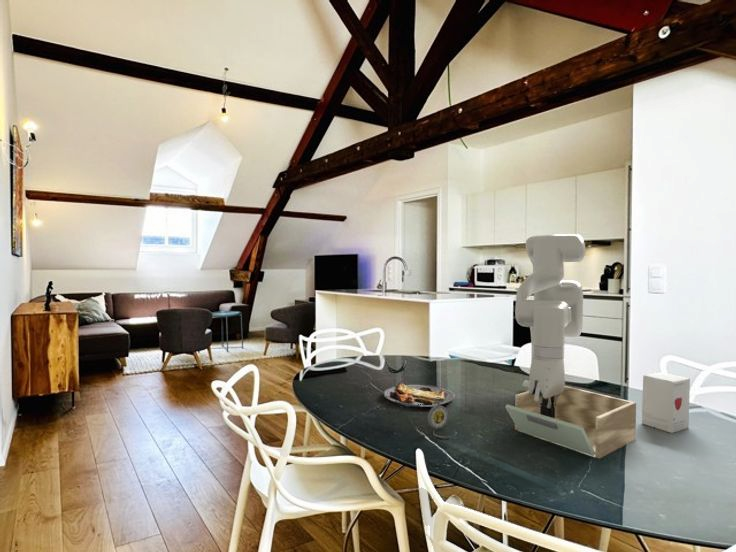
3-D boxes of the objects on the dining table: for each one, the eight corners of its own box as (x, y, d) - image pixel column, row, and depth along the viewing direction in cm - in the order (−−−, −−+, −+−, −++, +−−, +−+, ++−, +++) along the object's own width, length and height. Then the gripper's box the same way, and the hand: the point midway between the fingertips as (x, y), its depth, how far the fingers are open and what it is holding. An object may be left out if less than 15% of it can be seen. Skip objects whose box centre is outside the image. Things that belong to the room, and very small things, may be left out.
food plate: (372, 402, 158) (372, 392, 158) (399, 386, 179) (399, 377, 179) (441, 416, 147) (441, 405, 147) (461, 397, 168) (462, 387, 167)
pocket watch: (451, 442, 125) (451, 406, 124) (423, 435, 129) (423, 400, 129) (462, 432, 132) (462, 398, 131) (435, 426, 136) (435, 393, 136)
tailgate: (517, 432, 130) (504, 408, 126) (520, 427, 130) (506, 404, 126) (592, 458, 113) (579, 432, 109) (595, 452, 113) (582, 426, 109)
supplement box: (672, 434, 130) (673, 382, 130) (640, 423, 138) (641, 374, 137) (689, 428, 134) (691, 378, 134) (658, 418, 142) (659, 371, 142)
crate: (514, 432, 131) (515, 394, 131) (553, 418, 143) (553, 383, 143) (599, 462, 112) (600, 418, 112) (635, 442, 124) (636, 402, 124)
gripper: (550, 345, 126) (549, 410, 127) (518, 353, 117) (518, 423, 118) (577, 350, 120) (576, 418, 121) (545, 359, 111) (544, 433, 112)
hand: (547, 421), depth 120 cm, fingers closed
